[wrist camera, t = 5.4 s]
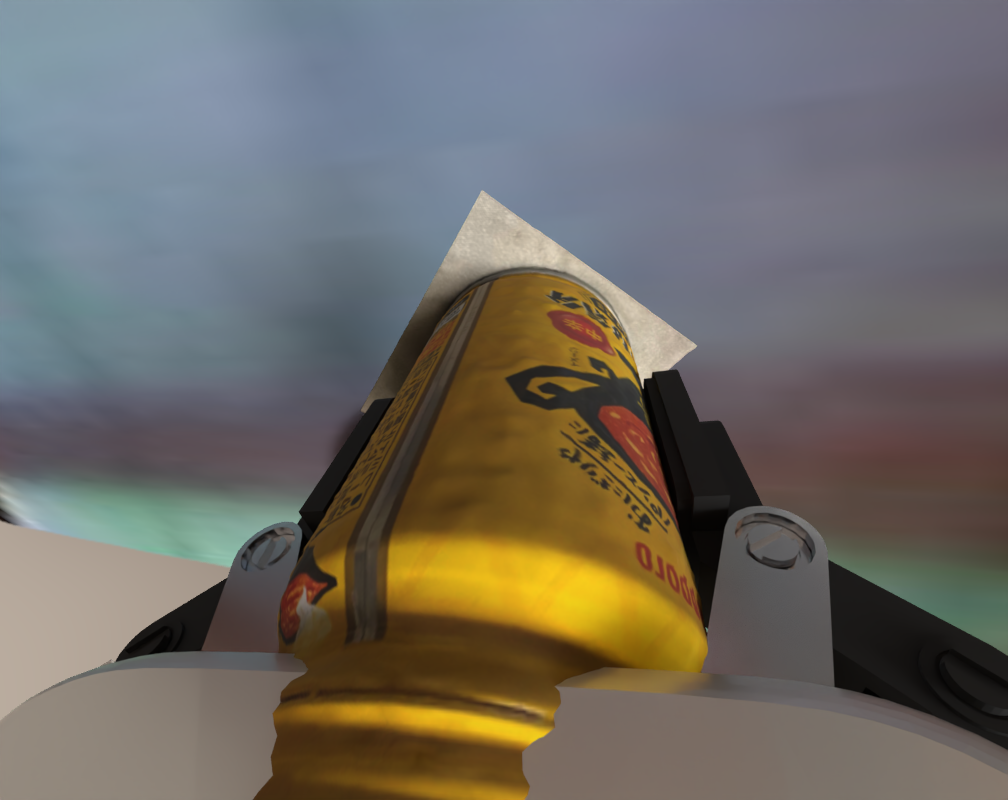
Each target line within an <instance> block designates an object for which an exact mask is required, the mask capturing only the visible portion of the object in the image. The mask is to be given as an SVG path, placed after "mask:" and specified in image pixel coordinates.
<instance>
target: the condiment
mask: <svg viewBox="0 0 1008 800" xmlns="http://www.w3.org/2000/svg"><path fill="white" fill-rule="evenodd" d="M696 347H697V345H695V344H694V343H693V342H691V341H690V340H689V339H687V338H686V337H684V336H683V335H682V334H680V333H679V332H678V331H676V330H675V329H673V328H672V327H671V326H669V325H668V324H667V323H666V322H665V321H663V320H662V319H660V318H659V317H657V316H656V315H654V314H653V313H652V312H650V311H649V310H648V309H647V308H645V307H644V306H643V305H641V304H640V303H638V302H637V301H636V300H634V299H633V298H632V297H630V296H629V295H627V294H626V293H625V292H623V291H622V290H621V289H619V288H618V287H617V286H615V285H614V284H613V283H611V282H610V281H608V280H607V279H606V278H604V277H603V276H601V275H600V274H599V273H597V272H596V271H594V270H593V269H591V268H590V267H589V266H587V265H586V264H585V263H583V262H582V261H580V260H579V259H578V258H576V257H575V256H573V255H572V254H571V253H569V252H568V251H567V250H565V249H564V248H562V247H561V246H560V245H558V244H557V243H555V242H554V241H553V240H551V239H550V238H548V237H547V236H545V235H544V234H543V233H542V232H540V231H538V230H537V229H534V228H533V227H532V226H530V225H529V224H528V223H526V222H525V221H524V220H522V219H521V218H520V217H518V216H517V215H515V214H514V213H513V212H511V211H510V210H508V209H507V208H506V207H504V206H503V205H502V204H500V203H499V202H497V201H496V200H495V199H493V198H492V197H491V196H489V195H488V194H487V193H485V192H484V191H483V190H482V191H481V193H480V195H479V197H478V199H477V200H476V202H475V204H474V206H473V208H472V209H471V211H470V213H469V215H468V217H467V219H466V221H465V222H464V224H463V226H462V228H461V230H460V231H459V233H458V235H457V237H456V239H455V241H454V242H453V244H452V246H451V248H450V250H449V252H448V253H447V255H446V257H445V259H444V261H443V263H442V264H441V266H440V268H439V270H438V272H437V273H436V275H435V277H434V279H433V281H432V283H431V284H430V286H429V288H428V290H427V292H426V293H425V295H424V297H423V299H422V301H421V302H420V304H419V306H418V308H417V310H416V311H415V313H414V315H413V317H412V319H411V320H410V321H409V324H408V326H407V328H406V329H405V331H404V333H403V335H402V336H401V338H400V340H399V342H398V344H397V346H396V347H395V349H394V351H393V353H392V355H391V356H390V358H389V360H388V362H387V364H386V366H385V368H384V369H383V371H382V373H381V375H380V377H379V378H378V380H377V382H376V384H375V386H374V387H373V389H372V391H371V393H370V394H369V396H368V398H367V400H366V402H365V404H364V405H363V407H362V409H361V411H362V412H364V413H366V411H367V410H368V408H369V407H370V405H371V404H372V402H373V401H374V400H376V399H385V398H395V399H394V401H393V403H392V404H391V406H390V407H389V409H388V410H387V412H386V414H385V416H384V418H383V420H382V421H381V422H380V424H379V425H378V428H377V429H376V431H375V433H374V434H373V435H372V436H371V439H370V442H369V443H368V445H367V447H366V449H365V450H364V451H363V453H362V454H361V456H360V458H359V460H358V461H357V463H356V465H355V467H354V469H353V470H352V471H351V473H350V474H349V475H348V478H347V480H346V482H345V483H344V484H343V486H342V488H341V490H340V491H339V492H338V494H337V495H336V496H335V497H334V501H333V503H332V504H331V506H330V507H329V509H328V511H327V512H326V515H325V517H324V519H323V520H322V521H321V523H320V524H319V526H318V528H317V529H316V531H315V532H314V534H313V535H312V537H311V538H310V540H309V542H308V543H307V545H306V546H305V547H304V552H303V555H302V556H301V557H300V559H299V561H298V563H297V564H296V566H295V568H294V569H293V571H292V573H291V574H290V579H289V582H288V585H287V588H286V590H285V592H284V594H283V596H282V598H281V602H280V608H279V612H278V617H277V620H278V625H277V629H278V640H279V651H278V653H288V654H295V655H294V658H296V659H300V660H302V661H303V663H304V664H305V665H306V667H307V668H308V670H307V672H306V673H305V674H304V675H302V676H300V677H298V678H296V679H294V680H292V681H290V683H289V684H288V685H287V686H286V687H285V688H284V689H283V690H282V691H281V695H280V704H279V705H278V707H277V708H276V710H275V711H274V712H273V713H272V714H273V720H274V727H275V730H276V733H277V738H276V741H275V744H274V748H273V751H272V754H271V765H272V773H273V776H272V777H271V778H270V779H269V780H268V781H267V782H266V784H265V785H264V786H263V787H262V788H261V789H260V791H259V792H258V793H257V794H256V796H255V797H254V799H253V800H524V799H525V798H526V797H527V795H528V792H529V788H530V785H529V783H528V781H527V780H526V778H525V776H524V773H523V764H522V752H523V751H524V750H525V749H526V748H527V747H528V746H529V745H530V744H531V743H532V742H534V741H535V740H537V739H538V738H541V737H544V736H545V735H546V734H547V733H549V732H550V731H551V730H553V729H554V728H555V722H554V713H555V712H556V710H557V709H558V707H559V706H560V704H561V698H560V691H559V690H558V689H557V688H556V687H555V686H556V685H558V684H560V683H562V682H563V681H564V680H566V679H568V678H571V677H574V676H579V675H582V674H585V673H587V672H591V671H594V670H598V669H601V668H603V667H611V668H632V669H651V670H667V671H682V672H697V673H701V670H702V667H703V663H704V659H705V657H706V656H707V653H708V645H707V632H706V628H705V623H704V618H703V612H702V603H701V598H700V596H699V593H698V591H697V589H696V584H695V576H694V574H693V572H692V569H691V567H690V564H689V561H688V558H687V555H686V552H685V549H684V545H683V541H682V537H681V534H680V530H679V525H678V521H677V519H676V514H675V509H674V507H673V504H672V500H671V497H670V493H669V490H668V484H667V482H666V476H665V472H664V469H663V466H662V462H661V458H660V454H659V449H658V445H657V443H656V440H655V436H654V431H653V428H652V424H651V415H650V413H649V410H648V406H647V403H646V400H645V391H644V387H643V382H644V379H645V378H652V372H656V371H666V370H669V369H670V368H671V367H672V366H673V365H674V364H675V363H677V362H678V361H679V360H680V359H681V358H683V357H684V356H685V355H686V354H687V353H689V352H690V351H691V350H693V349H695V348H696Z"/></svg>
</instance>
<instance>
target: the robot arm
mask: <svg viewBox="0 0 1008 800" xmlns="http://www.w3.org/2000/svg"><path fill="white" fill-rule="evenodd" d="M643 387H644V391H645V400H646V403H647V406H648V410H649V413H650V415H651V424H652V428H653V431H654V436H655V440H656V443H657V445H658V449H659V454H660V458H661V462H662V466H663V469H664V472H665V476H666V482H667V484H668V490H669V493H670V497H671V500H672V504H673V507H674V509H675V514H676V519H677V521H678V525H679V530H680V534H681V537H682V541H683V545H684V549H685V552H686V555H687V558H688V561H689V564H690V567H691V569H692V572H693V574H694V576H695V584H696V589H697V591H698V593H699V596H700V598H701V603H702V612H703V618H704V623H705V627H706V628H708V632H707V645H708V653H707V656H706V657H705V659H704V663H703V667H702V670H701V673H697V672H682V671H667V670H651V669H632V668H611V667H603V668H601V669H598V670H594V671H591V672H587V673H585V674H582V675H579V676H574V677H571V678H568V679H566V680H564V681H563V682H562V683H560V684H558V685H556V686H555V687H556V688H557V689H558V690H559V691H560V698H561V704H560V706H559V707H558V709H557V710H556V712H555V713H554V722H555V728H554V729H553V730H551V731H550V732H549V733H547V734H546V735H545V736H544V737H541V738H538V739H537V740H535V741H534V742H532V743H531V744H530V745H529V746H528V747H527V748H526V749H525V750H524V751H523V752H522V764H523V773H524V776H525V778H526V780H527V781H528V783H529V785H530V788H529V792H528V795H527V797H526V798H525V799H524V800H1008V656H1007V655H1005V654H1004V653H1002V652H1001V651H999V650H997V649H996V648H994V647H993V646H991V645H989V644H987V643H985V642H983V641H981V640H980V639H978V638H976V637H974V636H972V635H970V634H968V633H966V632H964V631H962V630H961V629H959V628H957V627H955V626H953V625H951V624H949V623H947V622H945V621H943V620H942V619H940V618H938V617H936V616H934V615H932V614H930V613H928V612H926V611H924V610H923V609H921V608H919V607H917V606H915V605H913V604H911V603H909V602H907V601H905V600H904V599H902V598H900V597H898V596H896V595H894V594H892V593H890V592H888V591H886V590H885V589H883V588H881V587H879V586H877V585H875V584H873V583H871V582H869V581H868V580H866V579H864V578H862V577H860V576H858V575H856V574H854V573H852V572H850V571H849V570H847V569H845V568H843V567H841V566H839V565H837V564H835V563H833V562H831V561H830V560H828V552H827V548H826V545H825V541H824V540H823V538H822V537H821V536H820V534H819V533H818V531H817V530H816V529H815V528H814V527H812V526H811V525H810V524H809V523H808V522H806V521H805V520H804V519H802V518H800V517H798V516H796V515H794V514H793V513H791V512H788V511H785V510H781V509H778V508H774V507H766V506H763V505H762V503H761V501H760V499H759V497H758V495H757V493H756V491H755V489H754V487H753V485H752V483H751V481H750V479H749V477H748V475H747V473H746V471H745V468H744V466H743V464H742V462H741V460H740V458H739V456H738V454H737V452H736V450H735V448H734V446H733V444H732V442H731V440H730V438H729V436H728V434H727V432H726V430H725V428H724V426H723V424H722V423H721V422H720V421H705V422H699V419H698V417H697V415H696V412H695V410H694V408H693V405H692V403H691V400H690V398H689V396H688V393H687V391H686V389H685V386H684V384H683V381H682V379H681V377H680V374H679V372H678V370H666V371H656V372H652V378H645V379H644V382H643ZM394 399H395V398H385V399H376V400H374V401H373V402H372V404H371V405H370V407H369V408H368V410H367V411H366V413H365V414H364V416H363V417H362V419H361V420H360V422H359V423H358V425H357V426H356V428H355V429H354V431H353V432H352V434H351V435H350V437H349V438H348V440H347V441H346V442H345V444H344V445H343V447H342V448H341V450H340V451H339V453H338V454H337V456H336V457H335V459H334V460H333V462H332V463H331V465H330V466H329V468H328V469H327V471H326V472H325V474H324V475H323V477H322V478H321V480H320V481H319V483H318V484H317V486H316V487H315V489H314V490H313V492H312V493H311V495H310V496H309V498H308V499H307V501H306V502H305V504H304V505H303V507H302V508H301V509H300V511H299V513H300V515H301V516H302V518H301V519H300V521H299V522H298V524H295V523H293V522H281V523H277V524H274V525H271V526H269V527H266V528H264V529H263V530H261V531H260V532H258V533H256V534H255V535H254V536H252V537H251V538H250V539H249V540H248V541H247V542H246V543H245V544H244V545H243V546H242V547H241V549H240V550H239V551H238V553H237V555H236V557H235V559H234V561H233V564H232V566H231V569H230V572H229V575H228V578H226V579H224V580H223V581H221V582H219V583H218V584H216V585H215V586H213V587H211V588H210V589H208V590H207V591H205V592H203V593H201V594H200V595H198V596H196V597H195V598H193V599H191V600H190V601H188V602H187V603H185V604H183V605H182V606H180V607H178V608H177V609H175V610H174V611H172V612H170V613H168V614H167V615H165V616H163V617H162V618H160V619H159V620H157V621H155V622H154V623H152V624H151V625H149V626H148V627H146V628H145V629H144V630H142V631H141V632H140V633H139V634H138V635H136V636H135V637H134V638H133V639H132V640H131V641H130V642H129V643H128V644H127V646H126V647H125V648H124V649H123V651H122V652H121V653H120V654H119V656H118V658H117V660H116V662H114V661H113V660H110V661H108V662H106V663H105V664H103V665H101V666H100V667H98V668H95V669H92V670H90V671H87V672H84V673H81V674H79V675H76V676H73V677H70V678H68V679H66V680H64V681H62V682H59V683H57V684H55V685H53V686H51V687H49V688H48V689H46V690H44V691H42V692H40V693H38V694H36V695H35V696H33V697H31V698H29V699H28V700H26V701H25V702H24V703H22V704H21V705H20V706H18V707H17V708H15V709H14V710H12V711H11V712H10V713H9V714H8V715H7V716H5V717H4V718H3V719H2V720H1V721H0V800H253V799H254V797H255V796H256V794H257V793H258V792H259V791H260V789H261V788H262V787H263V786H264V785H265V784H266V782H267V781H268V780H269V779H270V778H271V777H272V776H273V773H272V765H271V754H272V751H273V748H274V744H275V741H276V738H277V733H276V730H275V727H274V720H273V714H272V713H273V712H274V711H275V710H276V708H277V707H278V705H279V704H280V695H281V691H282V690H283V689H284V688H285V687H286V686H287V685H288V684H289V683H290V681H292V680H294V679H296V678H298V677H300V676H302V675H304V674H305V673H306V672H307V670H308V668H307V667H306V665H305V664H304V663H303V661H302V660H300V659H296V658H294V655H295V654H288V653H278V651H279V640H278V629H277V625H278V620H277V617H278V612H279V608H280V602H281V598H282V596H283V594H284V592H285V590H286V588H287V585H288V582H289V579H290V574H291V573H292V571H293V569H294V568H295V566H296V564H297V563H298V561H299V559H300V557H301V556H302V555H303V552H304V547H305V546H306V545H307V543H308V542H309V540H310V538H311V537H312V535H313V534H314V532H315V531H316V529H317V528H318V526H319V524H320V523H321V521H322V520H323V519H324V517H325V515H326V512H327V511H328V509H329V507H330V506H331V504H332V503H333V501H334V497H335V496H336V495H337V494H338V492H339V491H340V490H341V488H342V486H343V484H344V483H345V482H346V480H347V478H348V475H349V474H350V473H351V471H352V470H353V469H354V467H355V465H356V463H357V461H358V460H359V458H360V456H361V454H362V453H363V451H364V450H365V449H366V447H367V445H368V443H369V442H370V439H371V436H372V435H373V434H374V433H375V431H376V429H377V428H378V425H379V424H380V422H381V421H382V420H383V418H384V416H385V414H386V412H387V410H388V409H389V407H390V406H391V404H392V403H393V401H394Z"/></svg>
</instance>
